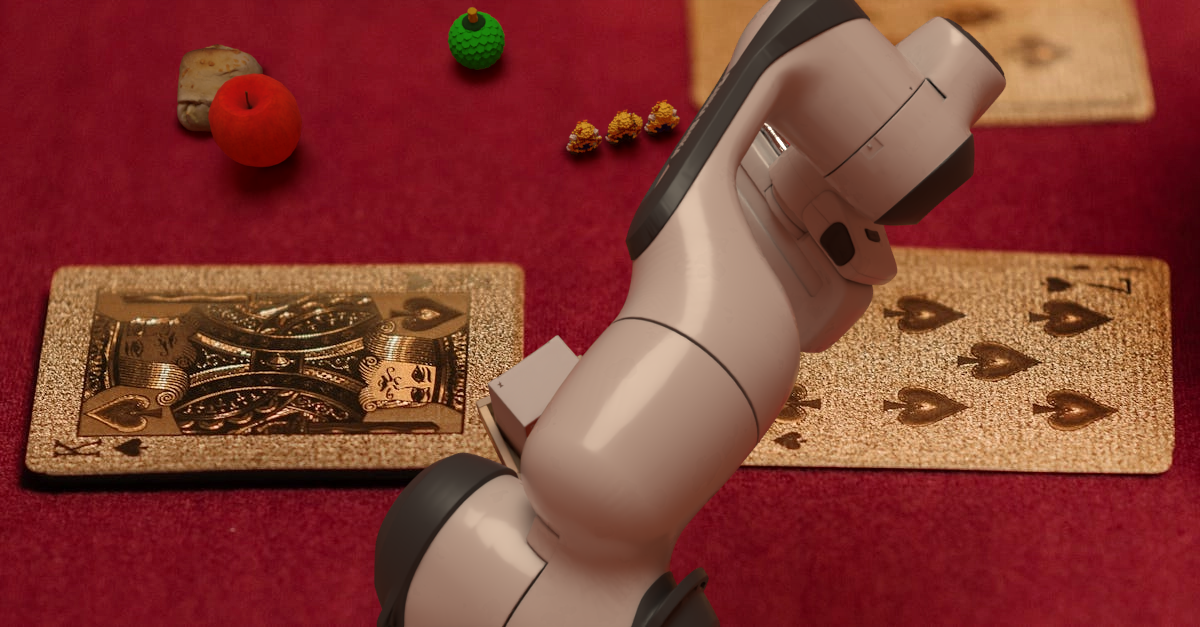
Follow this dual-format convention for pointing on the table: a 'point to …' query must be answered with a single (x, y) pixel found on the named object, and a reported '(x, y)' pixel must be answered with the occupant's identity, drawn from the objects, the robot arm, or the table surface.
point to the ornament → (476, 40)
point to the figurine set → (623, 128)
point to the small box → (529, 390)
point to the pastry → (208, 81)
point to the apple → (255, 120)
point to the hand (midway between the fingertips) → (706, 298)
